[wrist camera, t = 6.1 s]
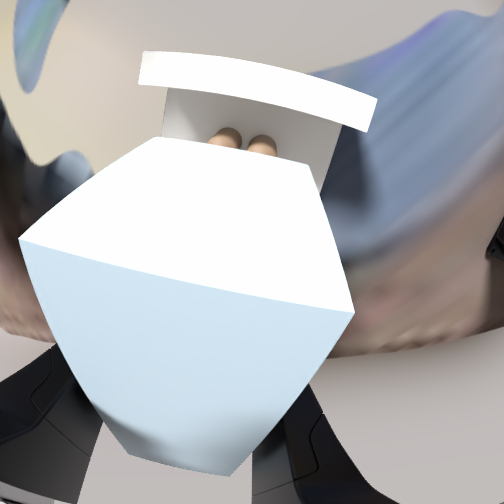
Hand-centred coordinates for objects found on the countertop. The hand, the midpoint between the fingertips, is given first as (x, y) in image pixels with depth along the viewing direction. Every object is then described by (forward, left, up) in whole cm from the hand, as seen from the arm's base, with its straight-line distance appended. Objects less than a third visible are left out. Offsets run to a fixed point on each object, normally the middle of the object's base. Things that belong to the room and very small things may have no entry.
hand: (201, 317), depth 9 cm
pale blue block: (0, 0, -1) cm, 1 cm away
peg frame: (0, 0, -11) cm, 11 cm away
